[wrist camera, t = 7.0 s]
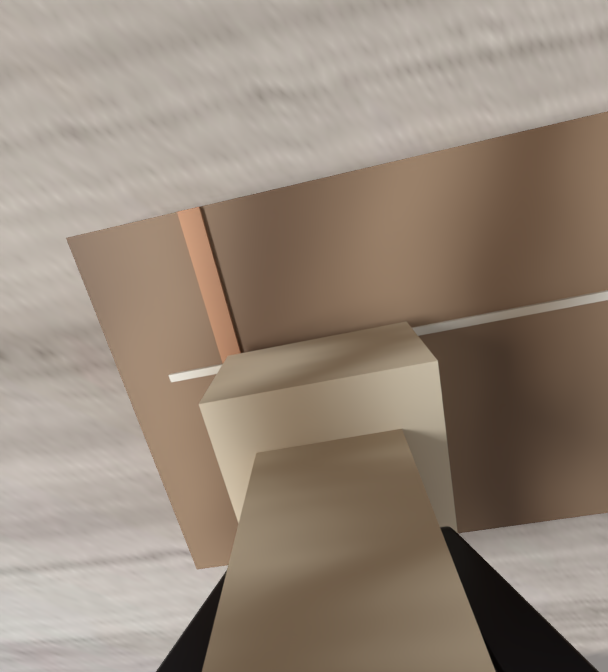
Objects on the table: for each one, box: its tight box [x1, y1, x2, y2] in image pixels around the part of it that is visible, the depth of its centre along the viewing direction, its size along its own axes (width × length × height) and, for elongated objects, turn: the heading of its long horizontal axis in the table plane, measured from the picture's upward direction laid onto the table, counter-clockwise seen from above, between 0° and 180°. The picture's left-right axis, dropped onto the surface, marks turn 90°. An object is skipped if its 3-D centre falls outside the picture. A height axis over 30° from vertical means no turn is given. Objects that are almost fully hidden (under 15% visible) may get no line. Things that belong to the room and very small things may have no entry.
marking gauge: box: [199, 321, 496, 672], centre depth 9 cm, size 5×10×11 cm, turn 12°
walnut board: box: [66, 112, 608, 569], centre depth 12 cm, size 24×12×2 cm, turn 102°
